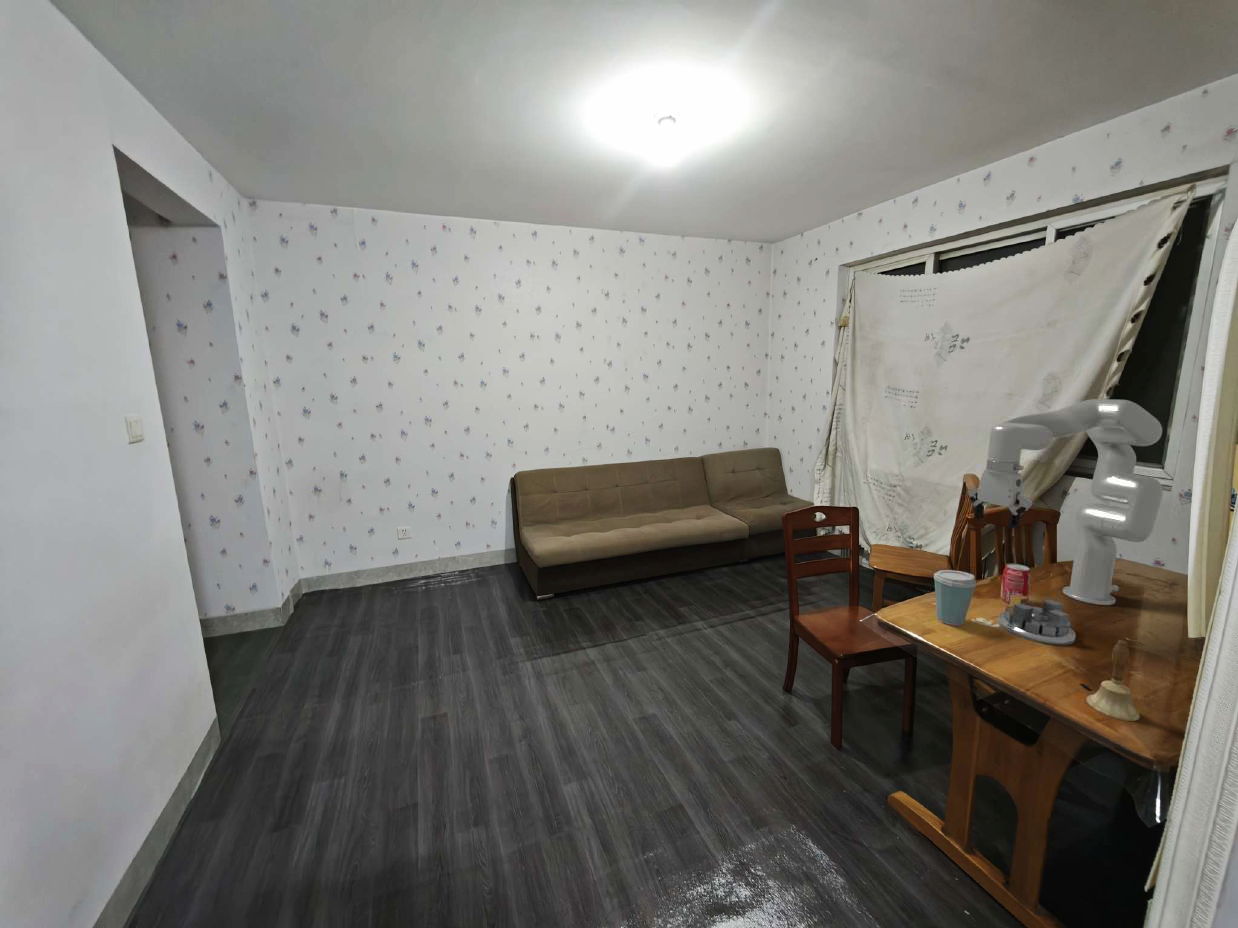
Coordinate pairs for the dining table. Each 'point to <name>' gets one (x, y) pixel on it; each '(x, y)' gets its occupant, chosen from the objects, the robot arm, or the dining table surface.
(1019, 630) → the base
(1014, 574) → the soda can
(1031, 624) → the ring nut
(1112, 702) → the hand bell
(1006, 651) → the dining table surface
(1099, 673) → the dining table surface
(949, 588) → the disposable coffee cup
